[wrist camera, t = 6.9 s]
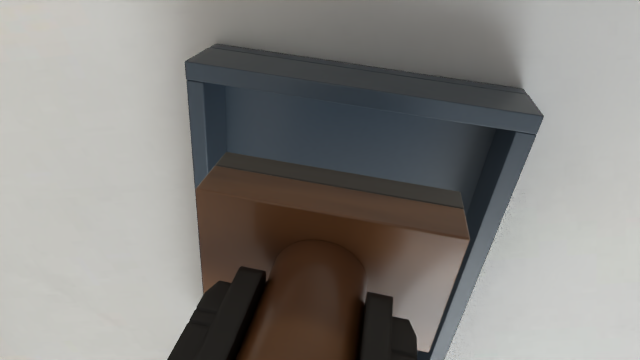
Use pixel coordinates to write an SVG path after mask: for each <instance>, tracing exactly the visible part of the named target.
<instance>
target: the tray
mask: <svg viewBox="0 0 640 360" xmlns="http://www.w3.org/2000/svg"><path fill="white" fill-rule="evenodd" d="M185 71H186V79H187V93H188V105H189V118H190V131H191V144H192V156H193V169H194V182H195V189H196V188H197V186H198V185H199V184H200V183H201V182H202V180H203V179H204V178H205V177H206V176H207V174H208V173H209V172H210V171H211V170H212V168H213V167H214V166H215V165H216V163H217V162H218V161H219V160H220V158H221V157H222V156H223V155H224V154H225V152H231V153H236V154H242V155H248V156H254V157H260V158H266V159H271V160H277V161H283V162H289V163H295V164H301V165H307V166H312V167H318V168H324V169H330V170H336V171H342V172H348V173H353V174H359V175H365V176H371V177H377V178H383V179H389V180H394V181H400V182H406V183H412V184H418V185H424V186H430V187H435V188H441V189H447V190H453V191H459V192H461V196H462V201H463V206H464V211H465V216H466V221H467V226H468V231H469V236H470V241H469V244H468V247H467V250H466V252H465V255H464V258H463V261H462V263H461V266H460V269H459V272H458V274H457V277H456V280H455V283H454V285H453V288H452V291H451V294H450V296H449V299H448V302H447V305H446V307H445V310H444V313H443V316H442V318H441V321H440V324H439V327H438V329H437V332H436V335H435V338H434V340H433V343H432V346H431V349H430V351H429V352H423V351H418V350H417V360H444V359H445V357H446V354H447V352H448V349H449V347H450V344H451V342H452V340H453V337H454V335H455V332H456V330H457V327H458V325H459V323H460V320H461V318H462V315H463V313H464V310H465V308H466V305H467V303H468V301H469V298H470V296H471V293H472V291H473V288H474V286H475V283H476V281H477V279H478V276H479V274H480V271H481V269H482V266H483V264H484V262H485V259H486V257H487V254H488V252H489V249H490V247H491V244H492V242H493V240H494V237H495V235H496V232H497V230H498V227H499V225H500V222H501V220H502V218H503V215H504V213H505V210H506V208H507V205H508V203H509V201H510V198H511V196H512V193H513V191H514V188H515V186H516V183H517V181H518V179H519V176H520V174H521V171H522V169H523V166H524V164H525V162H526V159H527V157H528V154H529V152H530V149H531V147H532V144H533V142H534V140H535V137H536V134H537V132H538V130H539V127H540V125H541V122H542V120H543V117H544V116H543V115H542V113H541V112H540V110H539V109H538V108H537V106H536V105H535V104H534V102H533V101H532V99H531V98H530V97H529V95H527V93H526V92H525V90H524V89H520V88H513V87H506V86H500V85H493V84H486V83H479V82H472V81H466V80H459V79H452V78H445V77H438V76H431V75H425V74H418V73H411V72H404V71H397V70H391V69H384V68H377V67H370V66H363V65H356V64H350V63H343V62H336V61H329V60H322V59H316V58H309V57H302V56H295V55H288V54H281V53H275V52H268V51H261V50H254V49H247V48H241V47H234V46H227V45H220V44H215V45H213V46H211V47H210V48H207V49H205V50H204V51H202V52H200V53H199V54H197V55H195V56H193V57H192V58H190V59H188V60H187V61H185ZM195 195H196V192H195ZM196 207H197V204H196ZM197 220H198V217H197ZM198 233H199V229H198ZM199 246H200V242H199ZM200 258H201V254H200ZM201 271H202V267H201ZM202 284H203V280H202ZM203 295H204V292H203Z"/></svg>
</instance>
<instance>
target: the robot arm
mask: <svg viewBox="0 0 640 360" xmlns="http://www.w3.org/2000/svg"><path fill="white" fill-rule="evenodd" d="M265 284H266V271H263V270H258V269H253V268H248V267H243V266H241V267H240V268H239V269H238V271H237V273H236V275H235V277H234V279H233V281H232V283H229V282H225V281H220V280H219V281H218V282H217V283H216V284H214V285H213V286H212V287H211V288H210V289H208V290H207V291H206V292H205V293H204V295H203V297H202V299H201V300H200V302H199V304H198V306H197V309H196V310H195V311H194V313H193V315H192V316H191V318H190V321H189V323H188V324H187V325H186V327H185V329H184V331H183V332H182V334H181V336H180V338H179V340H178V341H177V343H176V345H175V347H174V348H173V350H172V352H171V354H170V356H169V357H168V359H167V360H235V358H236V356H237V353H238V351H239V349H240V346H241V344H242V341H243V339H244V336H245V334H246V331H247V329H248V326H249V324H250V321H251V319H252V316H253V314H254V311H255V309H256V306H257V304H258V302H259V299H260V297H261V294H262V292H263V289H264V287H265ZM392 314H393V297H392V296H387V295H382V294H377V293H372V292H367V295H366V300H365V305H364V313H363V321H362V330H361V339H360V347H359V356H358V360H417V336H416V334H415V332H414V330H413V327H412V325H411V323H410V321H409V320H408V319H404V318H399V317H394V316H392Z"/></svg>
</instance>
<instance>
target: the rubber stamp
mask: <svg viewBox="0 0 640 360" xmlns="http://www.w3.org/2000/svg"><path fill="white" fill-rule="evenodd" d="M195 192H196V204H197V217H198V229H199V242H200V254H201V267H202V280H203V292H204V293H205V292H206V291H207V290H208V289H210V288H211V287H212V286H213V285H214V284H216V283H217V282H218V281H219V280H220V281H225V282H229V283H232V281H233V279H234V277H235V275H236V273H237V271H238V269H239V268H240V267H241V266H243V267H248V268H253V269H258V270H263V271H266V284H265V287H264V289H263V292H262V294H261V297H260V299H259V302H258V304H257V306H256V309H255V311H254V314H253V316H252V319H251V321H250V324H249V326H248V329H247V331H246V334H245V336H244V339H243V341H242V344H241V346H240V349H239V351H238V353H237V356H236V358H235V360H358V356H359V347H360V339H361V330H362V321H363V313H364V305H365V300H366V295H367V292H372V293H377V294H382V295H387V296H392V297H393V314H392V316H394V317H399V318H404V319H408V320H409V321H410V323H411V325H412V327H413V330H414V332H415V334H416V336H417V350H418V351H423V352H429V351H430V349H431V346H432V343H433V340H434V338H435V335H436V332H437V329H438V327H439V324H440V321H441V318H442V316H443V313H444V310H445V307H446V305H447V302H448V299H449V296H450V294H451V291H452V288H453V285H454V283H455V280H456V277H457V274H458V272H459V269H460V266H461V263H462V261H463V258H464V255H465V252H466V250H467V247H468V244H469V241H470V236H469V231H468V226H467V221H466V216H465V211H464V206H463V201H462V196H461V192H459V191H453V190H447V189H441V188H435V187H430V186H424V185H418V184H412V183H406V182H400V181H394V180H389V179H383V178H377V177H371V176H365V175H359V174H353V173H348V172H342V171H336V170H330V169H324V168H318V167H312V166H307V165H301V164H295V163H289V162H283V161H277V160H271V159H266V158H260V157H254V156H248V155H242V154H236V153H231V152H225V154H224V155H223V156H222V157H221V158H220V160H219V161H218V162H217V163H216V165H215V166H214V167H213V168H212V170H211V171H210V172H209V173H208V174H207V176H206V177H205V178H204V179H203V180H202V182H201V183H200V184H199V185H198V186H197V188H196V189H195Z"/></svg>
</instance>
